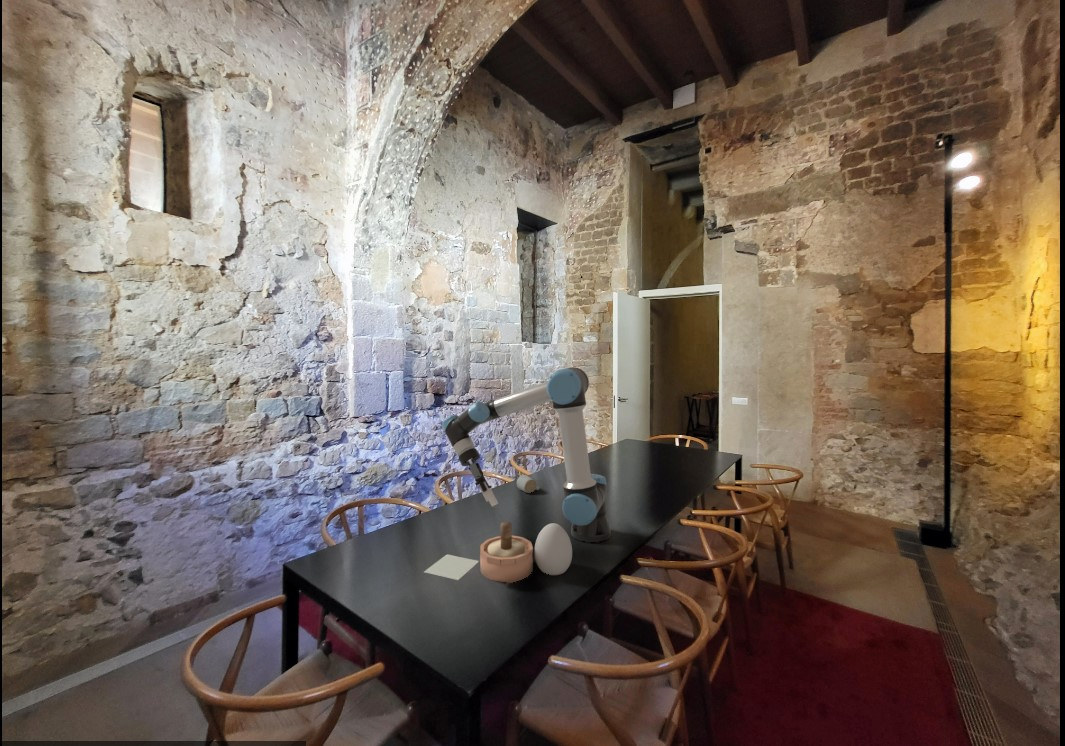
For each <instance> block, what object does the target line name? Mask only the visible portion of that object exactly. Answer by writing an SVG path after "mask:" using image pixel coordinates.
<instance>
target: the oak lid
mask: <svg viewBox="0 0 1065 746" xmlns="http://www.w3.org/2000/svg"><path fill="white" fill-rule="evenodd" d="M512 528H513V527H512V523H511V522H509V521H504V522H501V523H500V529H499V530H500V536H501V540H497V541H494V542H492V543H491V544H490V545H489V546H488V554H489V555H491V556H496V557H501V558H504V557H515V556H518V555H520V554H523V553H525V545H524V544H523V543H522V542H520V541H518V540H513V539H512V535H513V534H512V531H513V530H512Z"/></svg>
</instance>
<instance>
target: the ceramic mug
mask: <svg viewBox="0 0 1065 746" xmlns="http://www.w3.org/2000/svg"><path fill="white" fill-rule="evenodd" d="M516 486H517V488H518V489H519V490H520V491H523V492H524V493H526V494H532V493H534V492H535V490H536V491H539V490H540V486H539V485H537V482H536V480H535V479H533V478H531V477H530V476H529V475H527V474H521V475H520V476H518V477H517V480H516ZM531 492H532V493H531Z"/></svg>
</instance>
